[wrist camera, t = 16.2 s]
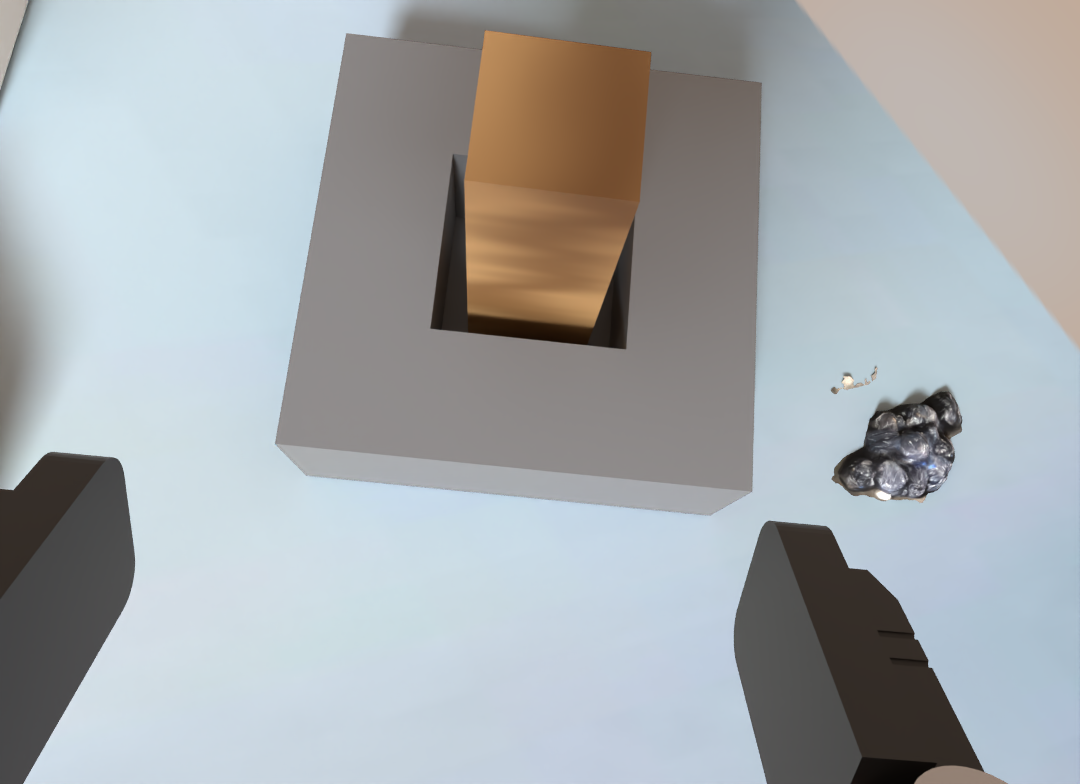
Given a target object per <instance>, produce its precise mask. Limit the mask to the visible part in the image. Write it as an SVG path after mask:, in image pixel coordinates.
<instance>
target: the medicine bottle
mask: <svg viewBox="0 0 1080 784" xmlns="http://www.w3.org/2000/svg"><path fill="white" fill-rule="evenodd" d="M28 1H29V0H0V89H1V86H2V83H3V80H4V76H5V73H6V70H7V67H8V64H9V61H10V58H11V54H12V51H13V48H14V45H15V42H16V39H17V36H18V32H19V29H20V26H21V23H22V20H23V17H24V14H25V10H26V7H27V4H28Z"/></svg>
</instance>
